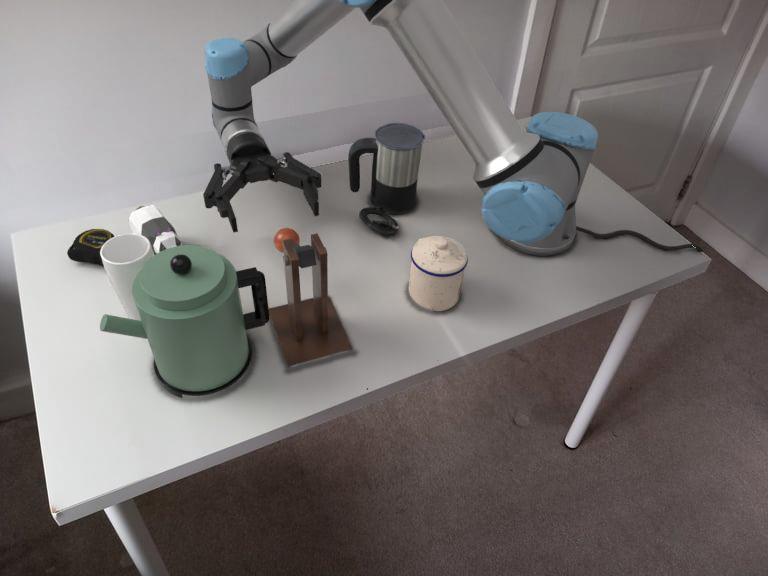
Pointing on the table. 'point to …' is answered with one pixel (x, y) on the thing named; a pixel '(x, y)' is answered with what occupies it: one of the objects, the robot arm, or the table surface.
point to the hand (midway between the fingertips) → (276, 217)
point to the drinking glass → (125, 266)
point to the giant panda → (154, 228)
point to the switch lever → (296, 247)
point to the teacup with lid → (437, 272)
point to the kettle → (194, 318)
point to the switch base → (307, 312)
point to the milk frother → (388, 173)
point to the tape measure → (89, 246)
